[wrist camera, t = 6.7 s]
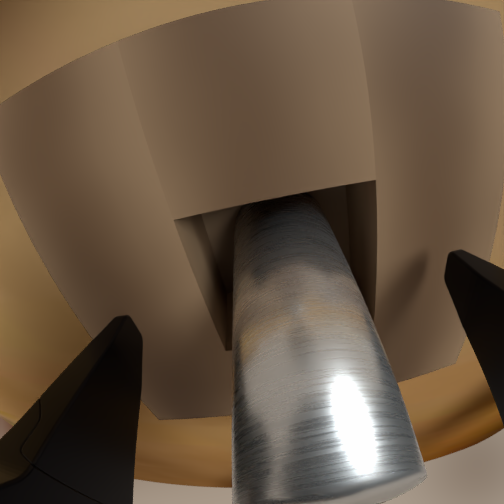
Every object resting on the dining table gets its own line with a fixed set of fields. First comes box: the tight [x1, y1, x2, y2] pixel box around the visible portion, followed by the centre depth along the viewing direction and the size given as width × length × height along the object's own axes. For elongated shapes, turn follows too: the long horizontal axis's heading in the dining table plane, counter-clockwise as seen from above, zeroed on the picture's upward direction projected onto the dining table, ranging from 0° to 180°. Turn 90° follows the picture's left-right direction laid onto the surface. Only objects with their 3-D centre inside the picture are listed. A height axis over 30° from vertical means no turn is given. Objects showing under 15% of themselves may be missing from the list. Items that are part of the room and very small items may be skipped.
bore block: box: [0, 0, 504, 420], centre depth 11 cm, size 14×14×4 cm
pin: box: [232, 192, 427, 504], centre depth 8 cm, size 3×3×9 cm
